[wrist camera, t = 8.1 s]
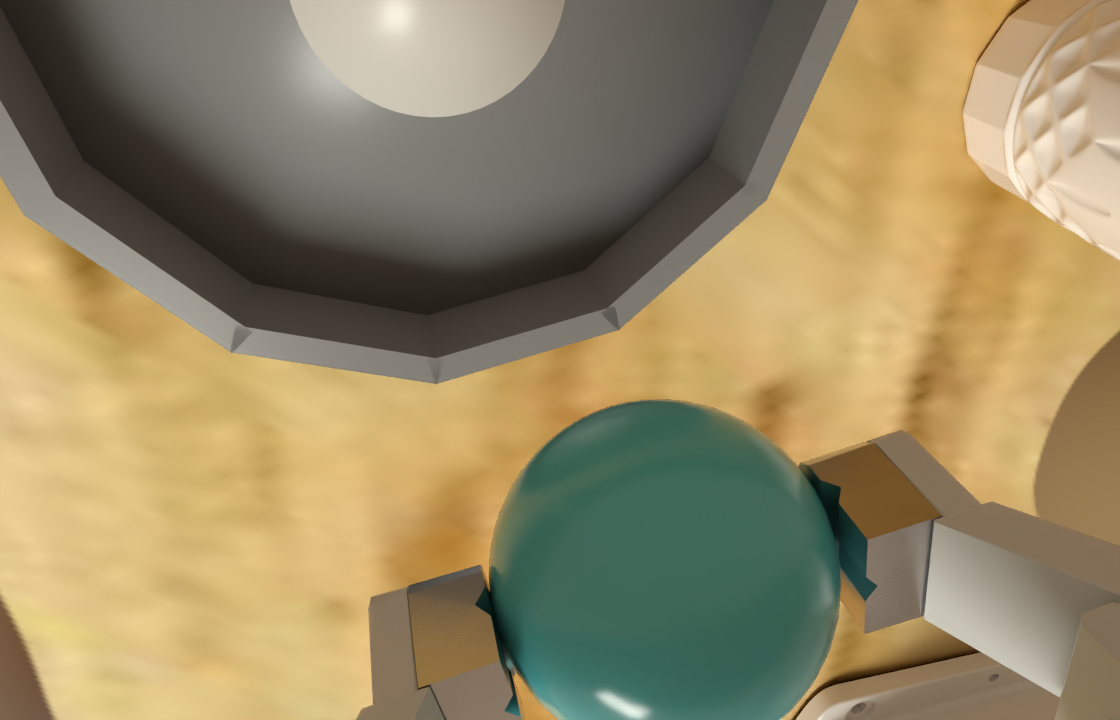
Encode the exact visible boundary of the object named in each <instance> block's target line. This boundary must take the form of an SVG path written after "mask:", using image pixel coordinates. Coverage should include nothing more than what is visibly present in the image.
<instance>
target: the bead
mask: <svg viewBox="0 0 1120 720" xmlns="http://www.w3.org/2000/svg"><path fill="white" fill-rule="evenodd" d="M489 587H490V596H491V601H492V606H493V610H494V617H495V621H496V627H497V630H498V633H499V636H500V639H501V642H502V644H503V646H504V649H505V651H506V653H507V655H508V657H509V659H510V661H511V663H512V665H513V667H514V668H515V670H516V672H517V674H518V675H519V677H520V678H521V679H522V681H523V682H524V683H525V685H526V686H527V687H528V689H529V690H530V691H531V693H532V694H533V695H534V697H535V698H536V699H537V701H538V702H539V703H540V704H542V705H543V706H544V707H545V708H546V709H547V710H548V711H549V712H550V713H551V714H552V715H553V716H554V717H555V718H557V719H558V720H781V719H782V718H784V717H785V716H786V715H787V714H788V713H789V712H790V711H791V710H792V709H793V707H794V706H795V705H796V704H797V703H798V702H799V701H800V699H801V698H802V697H803V696H804V695H805V693H806V692H807V691H808V689H809V688H810V687H811V685H812V684H813V682H814V680H815V679H816V677H817V675H818V673H819V671H820V669H821V667H822V665H823V663H824V661H825V659H826V657H827V655H828V652H829V650H830V648H831V644H832V640H833V637H834V633H835V629H836V625H837V622H838V618H839V608H840V596H841V576H840V564H839V553H838V549H837V546H836V542H835V538H834V534H833V531H832V527H831V524H830V520H829V518H828V516H827V514H826V511H825V509H824V507H823V505H822V503H821V501H820V499H819V497H818V495H817V493H816V491H815V489H814V488H813V486H812V485H811V483H810V482H809V480H808V479H807V477H806V476H805V474H804V473H803V472H802V470H801V469H800V468H799V467H798V465H797V464H796V463H795V462H794V461H793V460H792V459H791V458H790V456H789V455H788V454H787V453H786V452H785V451H784V450H783V449H782V448H781V447H779V446H778V445H777V444H776V443H775V442H774V441H772V440H771V439H770V438H769V437H767V436H766V435H765V434H763V433H762V432H761V431H759V430H758V429H757V428H755V427H753V426H751V425H750V424H748V423H746V422H745V421H743V420H741V419H739V418H737V417H735V416H733V415H731V414H728V413H726V412H723V411H721V410H718V409H716V408H713V407H709V406H705V405H701V404H696V403H692V402H688V401H680V400H670V399H660V400H639V401H632V402H625V403H621V404H617V405H613V406H610V407H607V408H604V409H601V410H599V411H596V412H593V413H591V414H589V415H587V416H585V417H583V418H581V419H579V420H577V421H575V422H574V423H572V424H570V425H569V426H567V427H566V428H564V429H562V430H561V431H560V432H559V433H557V434H556V435H555V436H553V437H552V438H551V439H550V440H548V441H547V442H546V443H545V444H544V445H543V446H542V447H541V448H540V449H539V450H538V451H537V452H536V453H535V455H534V456H533V457H532V458H531V460H530V461H529V462H528V463H527V464H526V466H525V467H524V468H523V469H522V471H521V472H520V473H519V475H518V477H517V478H516V480H515V481H514V483H513V484H512V486H511V488H510V490H509V493H508V495H507V497H506V499H505V501H504V504H503V506H502V508H501V510H500V512H499V516H498V519H497V522H496V526H495V529H494V534H493V539H492V543H491V551H490V559H489Z"/></svg>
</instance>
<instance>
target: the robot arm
mask: <svg viewBox="0 0 1120 720" xmlns="http://www.w3.org/2000/svg"><path fill="white" fill-rule="evenodd" d="M799 468H800V469H801V470H802V472H803V473H804V474H805V476H806V477H807V479H808V480H809V482H810V483H811V485H812V486H813V488H814V489H815V491H816V493H817V495H818V497H819V499H820V501H821V503H822V505H823V507H824V509H825V511H826V514H827V516H828V518H829V520H830V524H831V527H832V531H833V534H834V538H835V542H836V546H837V549H838V553H839V564H840V576H841V596H840V600H841V601H842V603H843V604H844V606H845V607H846V609H847V610H848V611H849V613H850V614H851V616H852V617H853V619H854V620H855V622H856V623H857V624H858V626H859V627H860V629H861V630H862V632H863V633H864V634H866V633H870V632H873V631H876V630H879V629H883V628H886V627H889V626H892V625H895V624H899V623H902V622H905V621H908V620H912V619H915V618H918V617H921V616H924V619H925V620H926V621H928V622H930V623H932V624H933V625H935V626H937V627H938V628H940V629H942V630H944V631H945V632H947V633H949V634H951V635H952V636H954V637H956V638H957V639H959V640H961V641H963V642H964V643H966V644H968V645H970V646H971V647H973V648H975V649H977V650H978V651H980V653H976V654H971V655H967V656H962V657H958V658H953V659H949V660H944V661H940V662H935V663H931V664H926V665H922V666H917V667H913V668H908V669H904V670H899V671H895V672H890V673H886V674H881V675H877V676H873V677H868V678H864V679H859V680H855V681H850V682H846V683H841V684H837V685H833V686H830V687H828V688H826V689H824V690H822V691H821V692H819V693H818V694H817V695H816V696H815V697H814V698H812V700H811V701H810V702H809V703H808V704H807V705H806V706H805V708H804V709H803V710H802V712H801V713H800V714H799V716H798V717H797V718H796V720H1120V546H1117V545H1115V544H1112V543H1109V542H1106V541H1103V540H1100V539H1097V538H1095V537H1092V536H1089V535H1086V534H1083V533H1080V532H1077V531H1075V530H1072V529H1069V528H1066V527H1063V526H1060V525H1058V524H1055V523H1052V522H1049V521H1046V520H1043V519H1041V518H1038V517H1035V516H1032V515H1029V514H1026V513H1023V512H1021V511H1018V510H1015V509H1012V508H1009V507H1006V506H1003V505H1001V504H998V503H995V502H988V503H985V504H981V503H980V502H979V501H978V500H977V499H976V498H975V497H974V496H973V495H972V494H971V493H970V492H969V491H967V490H966V489H965V488H964V487H963V486H962V485H961V484H960V483H959V482H958V481H957V480H956V479H955V478H954V477H953V476H952V475H951V474H950V473H949V472H948V471H947V470H946V469H945V468H944V467H943V466H942V465H941V464H940V463H939V462H938V461H937V460H936V459H935V458H934V457H933V456H932V455H931V454H930V453H929V452H928V451H927V450H926V449H925V448H924V447H923V446H922V445H921V444H920V443H918V442H917V441H916V440H915V439H914V438H913V437H912V436H911V435H910V434H909V433H907V432H905V431H902V430H899V431H896V432H893V433H890V434H887V435H884V436H881V437H878V438H875V439H872V440H869V441H867V442H862V443H859V444H856V445H853V446H850V447H847V448H844V449H841V450H838V451H835V452H832V453H829V454H826V455H823V456H820V457H817V458H814V459H810V460H807V461H804V462H801V463H800V464H799ZM368 612H369V632H370V652H371V672H372V692H373V705H371V706H368V707H365V708H363V709H361V711H360V713H359V715H358V717H357V718H356V720H526V718H525V714H524V709H523V705H522V701H521V698H520V695H519V692H518V689H517V686H516V684H515V681H514V678H513V677H514V675H515V670H514V667H513V665H512V663H511V661H510V659H509V657H508V655H507V653H506V651H505V649H504V646H503V644H502V642H501V639H500V636H499V633H498V630H497V627H496V621H495V617H494V610H493V606H492V601H491V596H490V587H489V583H488V580H487V578H486V575H485V572H484V570H483V567H482V566H481V565H478V566H474V567H471V568H468V569H464V570H461V571H457V572H454V573H450V574H447V575H443V576H440V577H436V578H433V579H430V580H426V581H423V582H419V583H416V584H412V585H409V586H408V587H405V588H401V589H398V590H394V591H391V592H387V593H384V594H380V595H377V596H373V597H371V599H370V603H369V607H368Z"/></svg>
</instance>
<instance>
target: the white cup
mask: <svg viewBox="0 0 1120 720" xmlns="http://www.w3.org/2000/svg"><path fill="white" fill-rule="evenodd" d="M962 114H963V122H964V130H965V138H966V146H967V153H968V155H969V156H970V157H971V158H972V160H973V161H974V162H975V163H976V164H977V166H978V167H979V168H980V169H981V170H982V171H983V173H984V174H985V175H986V176H987V177H988V179H989V180H990V181H992V182H993V183H995V184H997V185H999V186H1000V187H1002V188H1004V189H1006V190H1007V191H1009V192H1011V193H1013V194H1015V195H1016V196H1018V197H1020V198H1022V199H1023V200H1025V201H1027V202H1029V203H1031V204H1032V205H1033V206H1034V207H1035V208H1036V209H1038V210H1039V211H1040V212H1042V213H1043V214H1044V215H1046V216H1047V217H1049V218H1050V219H1052V220H1053V221H1054V222H1056V223H1057V224H1059V225H1061V226H1063V227H1065V228H1067V229H1068V230H1070V231H1072V232H1074V233H1076V234H1077V235H1079V236H1080V237H1081V238H1083V239H1084V240H1086V241H1087V242H1089V243H1090V244H1092V245H1093V246H1095V247H1096V248H1098V249H1099V250H1101V251H1103V252H1104V253H1106V254H1108V255H1109V256H1111V257H1113V258H1114V259H1116V260H1118V261H1120V0H1030V1H1028V2H1027V3H1026V4H1024V5H1023V6H1022V7H1021V8H1019V9H1018V10H1017V11H1015V12H1014V13H1013V14H1012V15H1010V16H1009V17H1008V18H1007V19H1006V21H1005V22H1004V24H1003V25H1002V27H1001V28H1000V30H999V31H998V32H997V34H996V35H995V37H994V38H993V40H992V41H991V43H990V44H989V46H988V47H987V49H986V50H985V52H984V53H983V54H982V56H981V57H980V59H979V60H978V62H977V64H976V66H975V70H974V73H973V77H972V80H971V84H970V87H969V91H968V94H967V98H966V101H965V104H964V108H963V112H962Z"/></svg>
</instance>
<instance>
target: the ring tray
mask: <svg viewBox="0 0 1120 720" xmlns="http://www.w3.org/2000/svg"><path fill="white" fill-rule="evenodd" d="M857 2H858V0H0V176H1V178H2V180H3V181H4V183H5V185H6V186H7V188H8V190H9V191H10V193H11V195H12V196H13V198H14V200H15V201H16V203H17V204H18V206H19V208H20V209H21V211H22V213H23V215H24V216H26V217H28V218H29V219H31V220H32V221H34V222H35V223H37V224H38V225H40V226H41V227H43V228H44V229H46V230H47V231H49V232H50V233H52V234H53V235H55V236H56V237H58V238H59V239H61V240H62V241H64V242H65V243H67V244H68V245H70V246H71V247H73V248H74V249H76V250H77V251H79V252H80V253H82V254H83V255H85V256H86V257H88V258H90V259H91V260H93V261H94V262H96V263H97V264H99V265H100V266H102V267H103V268H105V269H106V270H108V271H109V272H111V273H112V274H114V275H115V276H117V277H118V278H120V279H121V280H123V281H124V282H126V283H127V284H129V285H130V286H132V287H133V288H135V289H136V290H138V291H139V292H141V293H142V294H144V295H145V296H147V297H148V298H150V299H151V300H153V301H154V302H156V303H157V304H159V305H160V306H162V307H163V308H165V309H166V310H168V311H169V312H171V313H173V314H174V315H176V316H177V317H179V318H180V319H182V320H183V321H185V322H186V323H188V324H189V325H191V326H192V327H194V328H195V329H197V330H198V331H200V332H201V333H203V334H204V335H206V336H207V337H209V338H210V339H212V340H213V341H215V342H216V343H218V344H219V345H221V346H222V347H224V348H225V349H227V350H228V351H230V352H231V353H238V354H244V355H251V356H257V357H264V358H271V359H277V360H284V361H290V362H297V363H303V364H310V365H316V366H323V367H329V368H336V369H343V370H349V371H356V372H362V373H369V374H375V375H382V376H388V377H395V378H402V379H408V380H415V381H421V382H428V383H434V384H437V383H441V382H444V381H448V380H451V379H454V378H458V377H461V376H465V375H468V374H471V373H475V372H478V371H481V370H485V369H488V368H492V367H495V366H498V365H502V364H505V363H508V362H512V361H515V360H519V359H522V358H525V357H529V356H532V355H536V354H539V353H542V352H546V351H549V350H552V349H556V348H559V347H563V346H566V345H569V344H573V343H576V342H580V341H583V340H586V339H590V338H593V337H596V336H600V335H603V334H607V333H610V332H613V331H617V330H620V328H622V327H623V326H624V325H625V324H626V323H627V322H628V321H630V320H631V319H632V318H633V317H634V316H635V315H636V314H637V313H639V312H640V311H641V310H642V309H643V308H644V307H645V306H647V305H648V304H649V303H650V302H651V301H652V300H653V299H655V298H656V297H657V296H658V295H659V294H660V293H661V292H662V291H664V290H665V289H666V288H667V287H668V286H669V285H670V284H672V283H673V282H674V281H675V280H676V279H677V278H678V277H680V276H681V275H682V274H683V273H684V272H685V271H686V270H688V269H689V268H690V267H691V266H692V265H693V264H694V263H695V262H697V261H698V260H699V259H700V258H701V257H702V256H703V255H705V254H706V253H707V252H708V251H709V250H710V249H711V248H713V247H714V246H715V245H716V244H717V243H718V242H719V241H720V240H722V239H723V238H724V237H725V236H726V235H727V234H728V233H730V232H731V231H732V230H733V229H734V228H735V227H736V226H738V225H739V224H740V223H741V222H742V221H743V220H744V219H745V218H747V217H748V216H749V215H750V214H751V213H752V212H753V211H755V210H756V209H757V208H758V207H759V206H760V205H761V204H763V203H764V202H765V201H766V200H767V198H768V196H769V194H770V191H771V189H772V187H773V185H774V183H775V180H776V178H777V176H778V174H779V172H780V170H781V167H782V165H783V163H784V161H785V159H786V156H787V154H788V152H789V150H790V148H791V146H792V143H793V141H794V139H795V137H796V135H797V132H798V130H799V128H800V126H801V124H802V122H803V119H804V117H805V115H806V113H807V111H808V109H809V106H810V104H811V102H812V100H813V98H814V95H815V93H816V91H817V89H818V87H819V85H820V82H821V80H822V78H823V76H824V74H825V71H826V69H827V67H828V65H829V63H830V61H831V58H832V56H833V54H834V52H835V50H836V48H837V45H838V43H839V41H840V39H841V37H842V34H843V32H844V30H845V28H846V26H847V24H848V21H849V19H850V17H851V15H852V13H853V10H854V8H855V6H856V4H857Z"/></svg>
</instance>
